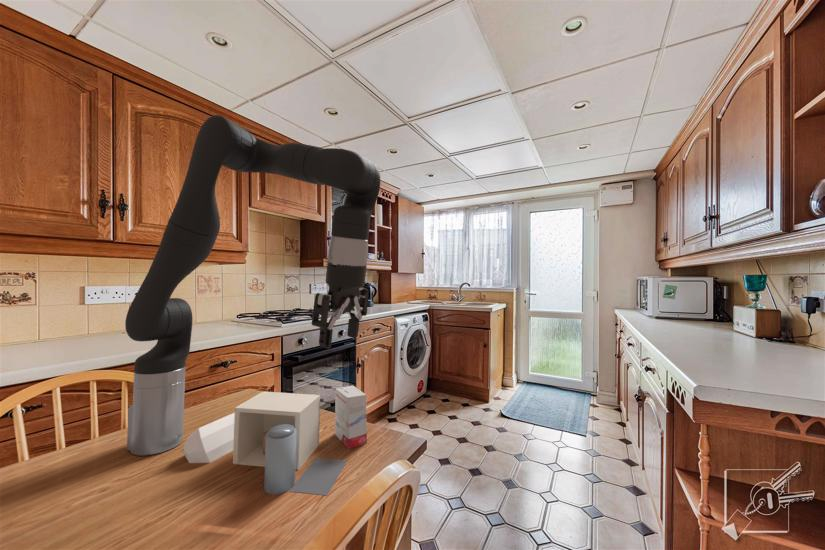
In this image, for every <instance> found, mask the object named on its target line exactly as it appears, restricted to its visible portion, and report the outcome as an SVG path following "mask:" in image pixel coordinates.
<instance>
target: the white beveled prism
mask: <svg viewBox="0 0 825 550" xmlns="http://www.w3.org/2000/svg"><path fill="white" fill-rule="evenodd" d="M234 416H235V412H233V413H230V414H228V415H225V416H223V417H220V418H219V419H216V420H214V421H212V422H209V423H207V424H204V425H202V426H200V427H199V428H197V429H195V430H194V431H193V432H192V433H190V434H189V435H188V437H187V439H186V440H185V443H184V444H183V454H184V456H185V458H186V461H188V464H211V463H212V462H214V461H216V460H218V459H220V458H222V457H223V456H225V455H227V454H229V453H230V452H233V445H234Z"/></svg>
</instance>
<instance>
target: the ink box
mask: <svg viewBox="0 0 825 550" xmlns="http://www.w3.org/2000/svg"><path fill="white" fill-rule="evenodd" d="M334 398H335V401H334V402H335V403H334V404H335V405H334V406H335V407H334V408H335V409H334V411H335V412H334V413H335V415H334V417H335V418H334V419H335V420H334V423H335V424H334V434H335V436H336V438H338V439H339V440H340V441H341V442H342V443H343V445H344V446H345V447H346V448H347V449H353V448H355V447H359V446H362V445H366V444H367V443H368V439H367V437H368V433H367V427H368V426H367V394H366V393H364V392H363V391H361V390H360V389H359V388H357V387H356V386H354V385H347V386H342V387H336V388H335V397H334Z"/></svg>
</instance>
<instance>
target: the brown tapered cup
mask: <svg viewBox="0 0 825 550" xmlns="http://www.w3.org/2000/svg"><path fill="white" fill-rule="evenodd" d="M267 432H268V431H266V432H265V433H264V437H263V454H264V455H265V448H266V434H267Z"/></svg>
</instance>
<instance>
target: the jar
mask: <svg viewBox="0 0 825 550" xmlns="http://www.w3.org/2000/svg"><path fill="white" fill-rule="evenodd" d="M295 463H296V429H295V428H294V426H293V425H289V424H282V425H277V426H274V427H272V428H270V429H269V431H268V432H267V434H266V448H265V467H264V477H263V478H264V479H263V480H264V483H263V485H264V486H263V489H264V492H265V494H269V495H281V494H284V493H286V492H288V491H290V490H291V488H292V487H293V486H294V485H295V483H296V470H295Z"/></svg>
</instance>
